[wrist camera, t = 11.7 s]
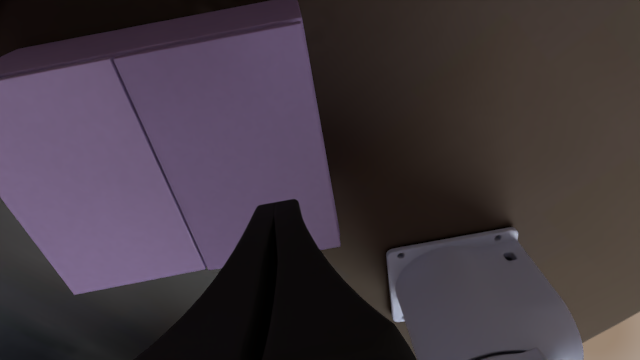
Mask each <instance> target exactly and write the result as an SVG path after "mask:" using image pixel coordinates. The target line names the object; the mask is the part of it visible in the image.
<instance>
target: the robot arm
mask: <svg viewBox="0 0 640 360" xmlns="http://www.w3.org/2000/svg"><path fill="white" fill-rule="evenodd" d="M496 236H497V237H496ZM517 239H518V231H517V230H516V229H515V228H514V227H509V228H503V229H498V230H492V231H487V232H481V233H476V234H470V235H465V236H459V237H454V238H448V239H443V240H437V241H432V242H426V243H421V244H415V245H410V246H404V247H399V248H393V249H390V250H388V251H387V253H386V258H387V269H388V280H389V290H390V301H391V312H392V318H393V321H395V322H402V321H405V323H406V326H407V329H408V332H409V335H410V339H411V342H412V345H413V348H414V351H415V354H416V357H417V360H583V359H584V358H583V357H584V355H583V346H582V340H581V337H580V334H579V331H578V328H577V326H576V323H575V321H574V319H573V317H572V315H571V313H570V311H569V309H568V308H567V306H566V304H565V303H564V301H563V300H562V298H561V297H560V296H559V294H558V293H557V292H556V291H555V289H554V288H553V287H552V285H551V284H550V283H549V281H548V280H547V279H546V277H545V276H544V275H543V274H542V272H541V271H540V270H539V268H538V267H537V266H536V264H535V263H534V262H533V260H532V259H531V258H530V256H529V255H528V254H527V253H526V251H525V250H524V249H523V247H522V246H521V245H520V243H519V242H518V241H517ZM400 253H402V254H400ZM398 254H400V255H398ZM134 360H416V358H415V356H414V354H413V352H412V351H411V349H410V347H409V345H408V344H407V342H406V341H405V339H404V338H403V336H402V335H401V333H400V332H399V330H398V329H397V327H396V326H395V324H393V323H392V322H391V321H389V320H388V319H387V318H385V317H384V316H383V315H381V314H380V313H379V312H378V311H376V310H375V309H374V308H373V307H372V306H370V305H369V304H368V303H367V302H366V301H365V300H363V299H362V298H361V297H360V296H359V295H358V294H357V293H356V292H355V291H354V290H353V289H352V288H351V287H350V286H349V285H348V284H347V283H346V282H345V281H344V280H343V279H342V277H341V276H340V275H339V274H338V273H337V272H336V271H335V269H334V268H333V267H332V266H331V264H330V263H329V262H328V261H327V259H326V258H325V256H324V255H323V254H322V252H321V251H320V249H319V248H318V246H317V245H316V243H315V241H314V240H313V238H312V236H311V234H310V233H309V231H308V229H307V227H306V225H305V223H304V221H303V218H302V214H301V210H300V206H299V201H297V200H296V199H290V200H285V201H279V202H274V203H268V204H263V205H258V206H257V208H256V209H255V211H254V213H253V215H252V217H251V219H250V221H249V223H248V225H247V227H246V229H245V231H244V233H243V235H242V237H241V238H240V240H239V242H238V244H237V245H236V247H235V249H234V251H233V252H232V254H231V255H230V257H229V258H228V260H227V261H226V263H225V265H224V266H223V268H222V269H221V271H220V272H219V273H218V275H217V276H216V278H215V279H214V280H213V282H212V283H211V284H210V286H209V287H208V288H207V289H206V291H205V292H204V293H203V294H202V295H201V297H200V298H199V299H198V300H197V301H196V302H195V303H194V304H193V305H192V307H191V308H190V309H189V310H188V311H187V312H186V313H185V314H184V315H183V316H182V317H181V318H180V319H179V320H178V321H177V322H176V323H175V324H174V325H173V326H172V327H171V328H170V329H169V330H168V331H167V332H166V333H165V334H164V335H162V336H161V337H160V338H159V339H158V340H157V341H156V342H155V343H153V344H152V345H151V346H150V347H149V348H148V349H146V350H145V351H144V352H143V353H141V354H140V355H139V356H138V357H136V358H135V359H134Z"/></svg>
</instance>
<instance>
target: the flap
mask: <svg viewBox="0 0 640 360" xmlns="http://www.w3.org/2000/svg"><path fill="white" fill-rule="evenodd" d="M113 59H114V58H113V56H110V57H105V58H100V59H95V60H90V61H84V62H79V63H74V64H69V65H64V66H59V67H54V68H48V69H43V70H38V71H33V72H28V73H23V74H18V75H12V76H7V77H2V78H0V198H1V199H2V200H3V202H4V203H5V204H6V205H7V207H8V208H9V209H10V211H11V212H12V213H13V215H14V216H15V217H16V219H17V220H18V221H19V223H20V224H21V225H22V227H23V228H24V229H25V231H26V232H27V233H28V234H29V236H30V237H31V238H32V240H33V241H34V242H35V244H36V245H37V246H38V248H39V249H40V250H41V252H42V253H43V254H44V256H45V257H46V258H47V260H48V261H49V262H50V263H51V265H52V266H53V267H54V269H55V270H56V271H57V273H58V274H59V275H60V277H61V278H62V279H63V281H64V282H65V283H66V285H67V286H68V287H69V289H70V290H71V291H72V292H73V294H74V295H76V294H81V293H86V292H91V291H96V290H102V289H107V288H112V287H117V286H122V285H127V284H132V283H137V282H143V281H148V280H153V279H158V278H163V277H168V276H173V275H178V274H183V273H189V272H194V271H199V270H204V269H206V264H205V261H204V259H203V257H202V255H201V253H200V250H199V248H198V246H197V244H196V242H195V239H194V237H193V235H192V233H191V231H190V228H189V226H188V224H187V222H186V219H185V217H184V215H183V213H182V211H181V208H180V206H179V204H178V202H177V200H176V197H175V195H174V193H173V191H172V189H171V186H170V184H169V182H168V180H167V177H166V175H165V173H164V171H163V169H162V166H161V164H160V162H159V160H158V158H157V155H156V153H155V151H154V149H153V147H152V144H151V142H150V140H149V138H148V136H147V133H146V131H145V129H144V127H143V124H142V122H141V120H140V118H139V116H138V113H137V111H136V109H135V107H134V105H133V102H132V100H131V98H130V96H129V94H128V91H127V89H126V87H125V85H124V82H123V80H122V78H121V76H120V74H119V71H118V69H117V67H116V65H115V63H114V60H113Z"/></svg>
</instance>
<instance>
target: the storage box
mask: <svg viewBox="0 0 640 360" xmlns="http://www.w3.org/2000/svg"><path fill="white" fill-rule="evenodd" d="M110 56H113V58H114V59H113V60H114V63H115V65H116V67H117V69H118V71H119V74H120V76H121V78H122V80H123V82H124V85H125V87H126V89H127V91H128V94H129V96H130V98H131V100H132V102H133V105H134V107H135V109H136V111H137V113H138V116H139V118H140V120H141V122H142V124H143V127H144V129H145V131H146V133H147V136H148V138H149V140H150V142H151V144H152V147H153V149H154V151H155V153H156V155H157V158H158V160H159V162H160V164H161V166H162V169H163V171H164V173H165V175H166V177H167V180H168V182H169V184H170V186H171V189H172V191H173V193H174V195H175V197H176V200H177V202H178V204H179V206H180V208H181V211H182V213H183V215H184V217H185V219H186V222H187V224H188V226H189V228H190V231H191V233H192V235H193V237H194V239H195V242H196V244H197V246H198V248H199V250H200V253H201V255H202V257H203V259H204V261H205V264H206V266H207V268H208V270H213V269H219V268H223V266H224V265H225V263H226V261H227V260H228V258H229V257H230V255H231V254H232V252H233V251H234V249H235V247H236V245H237V244H238V242H239V240H240V238H241V237H242V235H243V233H244V231H245V229H246V227H247V225H248V223H249V221H250V219H251V217H252V215H253V213H254V211H255V209H256V208H257V206H258V205H263V204H268V203H274V202H279V201H285V200H290V199H296V200H297V201H299V206H300V210H301V214H302V218H303V221H304V223H305V225H306V227H307V229H308V231H309V233H310V234H311V236H312V238H313V240H314V241H315V243H316V245H317V246H318V248H319V249H320V250H323V249H329V248H334V247H340V246H341V244H340V238H339V236H340V231H339V225H338V219H337V214H336V208H335V202H334V197H333V191H332V185H331V180H330V174H329V168H328V163H327V157H326V151H325V146H324V140H323V134H322V129H321V123H320V117H319V112H318V106H317V100H316V95H315V89H314V83H313V78H312V72H311V66H310V61H309V55H308V49H307V44H306V38H305V32H304V27H303V21H302V16H301V12H300V8H299V4H298V0H270V1H265V2H260V3H255V4H249V5H244V6H239V7H234V8H229V9H223V10H218V11H213V12H208V13H202V14H197V15H192V16H187V17H182V18H176V19H171V20H166V21H161V22H156V23H150V24H145V25H140V26H135V27H129V28H124V29H119V30H114V31H109V32H103V33H98V34H93V35H88V36H82V37H77V38H72V39H67V40H62V41H56V42H51V43H46V44H41V45H36V46H30V47H25V48H20V49H16V50H14V51H12V52H10V53H8V54H6V55H3V56H1V57H0V78H2V77H7V76H12V75H18V74H23V73H28V72H33V71H38V70H43V69H48V68H54V67H59V66H64V65H69V64H74V63H79V62H84V61H90V60H95V59H100V58H105V57H110Z"/></svg>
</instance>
